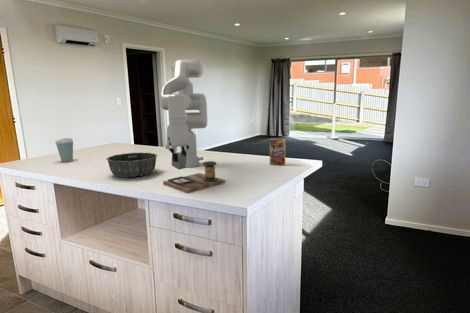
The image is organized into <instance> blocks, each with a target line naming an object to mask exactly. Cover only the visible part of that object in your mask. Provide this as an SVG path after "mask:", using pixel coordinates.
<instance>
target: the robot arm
mask: <svg viewBox="0 0 470 313" xmlns="http://www.w3.org/2000/svg"><path fill="white" fill-rule="evenodd" d="M203 73H204V68H203V64H202V62H201V61H200V60H199V59H195V58H194V59H193V58H190V59H189V58H188V59H187V58H186V59H184V58H183V59H177V60H175V61H174V63H173V64H172V65H171V74H172V75H171V79H170V80H168V81H167V82H166V83H165V84H164V85H162V86H163V87H162V88H161V91H160V98H159V104H160V107H161V109H162V110H164V111H168V123H169V124H168V125H167V127H166V144H165V147H164V148H165V149H166V150H168V151H169V152H170V153H171V158H172V157H173V161H174V162H178V154H177V153H178V151H177V150H178V147H180V153H181V154H183V155H185V156H187V157H186V168H194V167H198V166H200V165H201V163H200V161H203V160H204V157H203V156H201V157H199V156H198V150H197V136H196V134H195V132H194V131H193V129H199V130H200V129H205V128H207V127H208V107H207V106H208V104H207V97H206V95H205V94H204V93H194V85H193V83H192V81H191V80H190V78H191V79H193V78H197V79H198V78H201V77H202V76H203ZM186 111H189V112H186ZM190 111H191V112H190ZM192 111H198V112H192Z"/></svg>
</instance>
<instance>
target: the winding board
mask: <svg viewBox="0 0 470 313" xmlns="http://www.w3.org/2000/svg"><path fill="white" fill-rule="evenodd" d="M202 165H203V166H204V173H201V172H198V173H195V174H189V175H185V176H183V175H182V176H178V177H174V178H173V177H172V178H168V179H167V180H164V181H163V183H162V185H164V186H167V187H169V188H172V189H175V190H177V191H180V192H183V193H186V194H191V193H193V192H197V191H201V190H204V189H208V188H212V187H216V186H219V185H222V184H226V179H223V178H220V177H216V165H217V161H213V160H211V161H204V162H203V163H202Z"/></svg>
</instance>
